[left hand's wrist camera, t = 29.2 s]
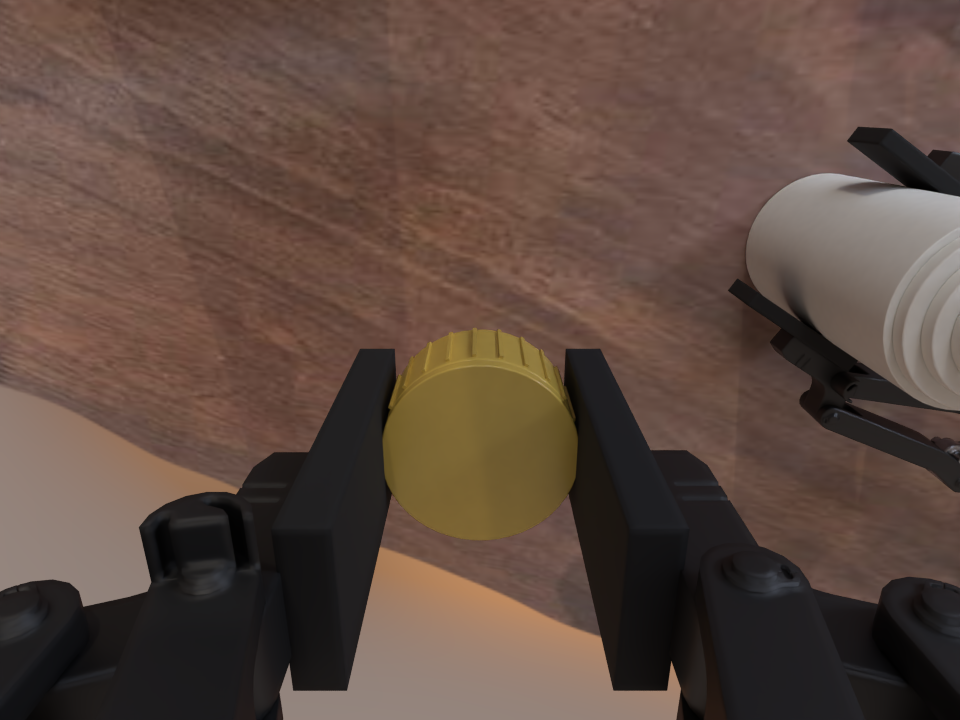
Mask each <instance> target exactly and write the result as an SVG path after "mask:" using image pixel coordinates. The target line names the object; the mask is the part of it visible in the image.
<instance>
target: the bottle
mask: <svg viewBox="0 0 960 720" xmlns="http://www.w3.org/2000/svg"><path fill="white" fill-rule="evenodd" d="M746 264H747V269H748V272H749V276H750V278H751V280H752V282H753V284H754V286H755V287H756V288H757V290H758V291H759V292H760V293H761V294H762V295H763V296H764V297H765V298H767V299H768V300H770V301H771V302H773V303H774V304H776V305H777V306H779V307H780V308H782V309H783V310H785V311H786V312H788V313H789V314H791V315H792V316H793V317H795V318H796V319H798V320H799V321H801V322H802V323H804V324H805V325H807V326H808V327H810V328H811V329H813V330H814V331H816V332H817V333H818V334H820V335H821V336H823V337H824V338H826V339H827V340H829V341H830V342H832V343H833V344H834V345H836V346H837V347H839V348H840V349H842V350H843V351H845V352H846V353H848V354H849V355H851V356H852V357H854V358H855V359H857V360H858V361H860V362H861V363H863V364H864V365H866V366H867V367H869V368H870V369H872V370H873V371H875V372H876V373H878V374H879V375H881V376H882V377H883V378H885V379H886V380H888V381H889V382H891V383H892V384H894V385H895V386H897V387H898V388H900V389H901V390H903V391H904V392H906V393H907V394H909V395H910V396H912V397H913V398H915V399H917V400H919V401H921V402H922V403H925V404H927V405H930V406H933V407H936V408H941V409H946V410H957V411H960V197H958V196H953V195H947V194H942V193H937V192H931V191H926V190H921V189H915V188H910V187H905V186H900V185H894V184H889V183H884V182H878V181H873V180H868V179H862V178H857V177H852V176H846V175H841V174H832V173H827V174H817V175H811V176H808V177H805V178H802V179H799V180H797V181H795V182H793V183H791V184H789V185H788V186H786V187H784V188H783V189H782V190H780V191H779V192H778V193H776V194H775V195H774V196H773V197H772V198H771V199H770V200H769V201H768V202H767V203H766V204H765V205H764V207H763V208H762V209H761V211H760V212H759V214H758V215H757V217H756V219H755V221H754V223H753V225H752V227H751V230H750V232H749V236H748V240H747V245H746Z"/></svg>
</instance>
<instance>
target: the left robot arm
mask: <svg viewBox="0 0 960 720" xmlns="http://www.w3.org/2000/svg"><path fill="white" fill-rule="evenodd" d="M395 384H396V367H395V349H360V350H359V353H358V355H357V357H356V359H355V361H354V363H353V365H352V367H351V369H350V371H349V373H348V375H347V377H346V379H345V381H344V383H343V385H342V387H341V389H340V391H339V393H338V395H337V397H336V399H335V401H334V403H333V405H332V407H331V409H330V411H329V413H328V415H327V417H326V419H325V421H324V423H323V425H322V427H321V429H320V431H319V433H318V435H317V437H316V439H315V441H314V443H313V445H312V447H311V449H310V451H309V452H274V453H273V454H271V455H270V456H269V457H267V458H266V459H264V460H263V461H262V462H260V463H259V464H257V465H256V466H255V467H253V469H252V470H251V472H250V474H249V475H248V477H247V478H246V480H245V481H244V483H243V487H242V488H240V489H239V491H238V493H237V494H236V495H235V494H232V493H228V492H205V493H200V494H194V495H189V496H185V497H183V498H180V499H177V500H175V501H172V502H170V503H167V504H165V505H163V506H162V507H160V508H159V509H157V510H156V511H154V512H153V513H151V514H150V515H149V516H148V517H147V518H146V519H145V521H144V522H143V523H142V524H141V525H140V527H139V530H140V534H141V538H142V543H143V547H144V551H145V556H146V560H147V565H148V569H149V574H150V578H151V585H150V587H149V589H148V592H145V593H141V594H138V595H134V596H131V597H127V598H122V599H118V600H113V601H108V602H104V603H99V604H94V605H90V606H85V607H83V605H82V601H81V597H80V594H79V591H78V590H77V589H76V588H75V587H73V586H72V585H71V584H70V583H67V582H62V581H57V580H43V581H32V582H28V583H24V584H20V585H18V586H13V587H11V588H7V589H5V590H3V591H1V592H0V720H283V714H282V707H281V700H280V693H279V691H280V689H281V686H282V683H283V680H284V677H285V674H286V671H287V668H288V665H289V663H290V670H291V677H292V685H293V690H294V691H347V688H348V683H349V679H350V675H351V670H352V666H353V661H354V657H355V653H356V648H357V644H358V640H359V635H360V631H361V627H362V622H363V618H364V613H365V609H366V605H367V600H368V596H369V591H370V587H371V583H372V578H373V574H374V570H375V565H376V561H377V556H378V552H379V548H380V543H381V539H382V535H383V530H384V526H385V521H386V517H387V513H388V508H389V504H390V500H391V495H392V492H391V491H390V489H389V487H388V485H387V482H386V480H385V472H384V456H383V439H382V435H383V431H384V427H385V424H386V420H387V417H388V414H389V410H390V409H389V408H388V406H389V403H390V400H391V397H392V393H393V390H394V387H395ZM564 386H566V388H567V391H568V394H569V398H570V401H571V404H572V407H573V411H574V414H575V417H576V418H575V421H574V422H575V425H576V429H577V433H578V447H577V463H576V478H575V481H574V483H573V486H572V488H571V489H570V491H569V498H570V502H571V507H572V511H573V515H574V520H575V524H576V528H577V533H578V537H579V542H580V546H581V550H582V555H583V559H584V563H585V568H586V572H587V577H588V581H589V585H590V590H591V594H592V599H593V603H594V607H595V612H596V616H597V620H598V625H599V629H600V634H601V638H602V642H603V647H604V651H605V655H606V660H607V664H608V669H609V673H610V677H611V681H612V686H613V690H614V691H667V688H668V680H669V673H670V666H671V661H672V664H673V666H674V669H675V672H676V675H677V678H678V681H679V684H680V687H681V693H680V700H679V706H678V713H677V720H960V588H958V587H956V586H954V585H951V584H948V583H943V582H941V581H936V580H933V579H926V578H916V577H905V578H900V579H895V580H891V581H890V582H889V583H888V584H887V585H886V586H885V587H884V588H883V589H882V592H881V596H880V599H879V603H878V604H874V603H870V602H865V601H860V600H856V599H851V598H846V597H842V596H837V595H833V594H829V593H825V592H822V591H818V590H815V589H813V588H811V586H810V583H809V581H808V580H807V578H806V577H805V576H804V574H803V573H802V571H801V570H800V568H799V567H797V566H796V565H795V564H793V563H792V562H791V561H789V560H788V559H787V558H785V557H784V556H782V555H780V554H778V553H775V552H773V551H771V550H769V549H766V548H764V547H759V546H758V544H757V543H756V541H755V539H754V538H753V536H752V535H751V533H750V532H749V530H748V528H747V527H746V525H745V524H744V522H743V521H742V519H741V517H740V516H739V514H738V513H737V511H736V510H735V508H734V506H733V505H732V503H731V502H730V500H727V495H726V494H725V492H724V491H723V489H722V488H721V486H718V481H717V480H716V478H715V477H714V475H713V473H712V472H711V470H710V469H709V467H708V466H707V465H706V464H705V463H703V462H702V461H701V460H699V459H698V458H696V457H695V456H694V455H692V454H691V453H689V452H688V451H687V450H650V448H649V446H648V444H647V442H646V440H645V438H644V436H643V434H642V432H641V430H640V428H639V426H638V424H637V422H636V420H635V418H634V416H633V414H632V412H631V410H630V408H629V406H628V404H627V402H626V400H625V398H624V396H623V394H622V392H621V390H620V388H619V386H618V384H617V382H616V380H615V378H614V376H613V374H612V372H611V370H610V368H609V366H608V364H607V362H606V360H605V358H604V356H603V354H602V352H601V350H600V349H566V355H565V375H564Z"/></svg>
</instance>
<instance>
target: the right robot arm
mask: <svg viewBox="0 0 960 720" xmlns="http://www.w3.org/2000/svg"><path fill="white" fill-rule="evenodd" d="M847 141H848V142H849V143H850V144H852V145H853V146H854V147H855V148H857V149H858V150H859V151H861V152H862V153H863V154H865V155H866V156H867V157H868V158H870V159H871V160H872V161H874V162H875V163H876V164H878V165H879V166H880V167H881V168H883V169H884V170H885V171H887V172H888V173H889V174H891V175H892V176H893V177H895V178H896V179H897V180H898V181H900V182H901V183H902V184H904V185H905V186H906V187H910V188H915V189H921V190H926V191H931V192H937V193H942V194H947V195H953V196H958V197H960V153H957V152H950V151H940V150H932V152H931V153H930V154H929V155H928V156H926V155H925V154H923V153H922V152H921V151H920V150H918V149H917V148H916V147H914V146H913V145H912V144H911V143H909V142H908V141H907V140H906V139H904V138H903V137H902V136H901V135H899V134H898V133H897V132H895V131H894V130H893V129H888V128H869V127H858V128H857V129H856V130H855V132H854V133H853V134H852V135H851V137H850V138H849V139H848V140H847ZM728 291H729V292H731V293H732V294H733V295H735V296H736V297H737V298H739V299H740V300H741V301H743V302H744V303H745V304H747V305H748V306H750V307H751V308H753V309H754V310H755V311H757V312H758V313H760V314H761V315H763V316H764V317H766V318H767V319H769V320H770V321H772V322H773V323H775V324H776V325H778V326H779V327H781V329H780V331H779V332H778V333H777V334H776V335H775V337H774V338H773V339H772V340H771V341H770V343H771V345H772V346H773V348H774V350H775V351H777V352H778V353H779V354H780V355H781V356H783V357H784V358H785V359H786V360H788V361H789V362H791V363H792V364H794V365H795V366H797V367H798V368H800V369H801V370H803V371H804V372H806V373H807V374H809V375H811V377H812V385H811V387H810V390H808V391H806V392H804V393H803V394H802V395H801V397H800V399H799V401H800V405H801V407H802V408H803V409H805V410H806V411H807V412H808V413H809V414H810V415H811V416H812V417H813V418H814V419H815V420H816V421H817V422H818V423H820V424H821V425H822V426H823V427H824V428H826V429H828V430H831V431H833V432H836V433H838V434H841V435H843V436H846V437H848V438H851V439H853V440H856V441H858V442H861V443H863V444H866V445H868V446H871V447H873V448H876V449H878V450H881V451H883V452H886V453H888V454H891V455H893V456H896V457H898V458H901V459H903V460H906V461H908V462H911V463H913V464H916V465H918V466H921V467H923V468H926V469H927V470H928V471H929V472H931V473H932V474H933V475H934V476H935V477H937V478H938V479H939V480H940V481H942V482H943V483H944V484H945V485H947V486H948V487H949V488H950V489H951V490H953V491H954V492H959V493H960V441H954V440H952V439H950V438H943V439H941V438H940V437H934V438H932V439H931V441H930V440H929V439H928V438H926V437H925V436H923V435H922V434H920V433H919V432H917V431H915V430H912V429H910V428H907V427H905V426H903V425H900V424H898V423H895V422H893V421H890V420H888V419H885V418H883V417H881V416H878V415H876V414H873V413H871V412H868V411H866V410H863V409H861V408H858V407H856V406H854V405H851V404H849V403H846V402H845V401H847V402H850V403H852V401H851V400H850V399H849V398H855V399H862V400H869V401H876V402H883V403H890V404H897V405H904V406H911V407H918V408H925V409H932V410H939V411H946V412H953V413H958V414H960V411H957V410H946V409H941V408H936V407H933V406H930V405H927V404H925V403H922V402H921V401H919V400H917V399H915V398H913V397H912V396H910V395H909V394H907V393H906V392H904V391H903V390H901V389H900V388H898V387H897V386H895V385H894V384H892V383H891V382H889V381H888V380H886V379H885V378H883V377H882V376H881V375H879V374H878V373H876V372H875V371H873V370H872V369H870V368H869V367H867V366H866V365H864V364H863V363H858V362H857V361H858V360H857V359H855V358H854V357H852V356H851V355H849V354H848V353H846V352H845V351H843V350H842V349H840V348H839V347H837V346H836V345H834V344H833V343H832V342H830V341H829V340H827V339H826V338H824V337H823V336H821V335H820V334H818V333H817V332H816V331H814V330H813V329H811V328H810V327H808V326H807V325H805V324H804V323H802V322H801V321H799V320H798V319H796V318H795V317H793V316H792V315H791V314H789V313H788V312H786V311H785V310H783V309H782V308H780V307H779V306H777V305H776V304H774V303H773V302H771V301H770V300H768V299H767V298H765V297H764V296H763V295H761V294H760V293H758V292H757V291H755V290H754V289H752V288H751V287H749V286H748V285H746V284H745V283H743V282H742V281H740V280H739V279H737V280H736V281H735V282H734V284H733V285H732V286H731V287H730V289H729V290H728Z"/></svg>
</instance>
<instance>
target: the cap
mask: <svg viewBox="0 0 960 720" xmlns="http://www.w3.org/2000/svg"><path fill="white" fill-rule="evenodd" d="M388 408H389V409H390V410H389V414H388V417H387V420H386V424H385V427H384V431H383V435H382V439H383V456H384V472H385V480H386V482H387V485H388V487H389V489H390V491H391V492H392V494H393V496H394V497H395V499H396V500H397V501H398V503H399V504H400V505H401V506H402V507H403V508H404V510H405V511H406V512H407V513H408V514H410V515H411V516H412V517H413V518H414V519H416V520H417V521H419V522H420V523H422V524H423V525H425V526H426V527H428V528H430V529H432V530H434V531H436V532H439V533H442V534H445V535H447V536H451V537H455V538H460V539H467V540H494V539H501V538H505V537H510V536H513V535H516V534H519V533H522V532H524V531H526V530H528V529H530V528H532V527H534V526H536V525H537V524H539V523H540V522H542V521H543V520H545V519H546V518H547V517H548V516H550V515H551V514H552V513H553V512H554V511H555V510H556V509H557V508H558V507H559V506H560V505H561V503H562V502H563V501H564V499H565V498H566V497H567V495H568V493H569V491H570V489H571V488H572V486H573V483H574V481H575V478H576V463H577V447H578V433H577V429H576V425H575V422H574V421H575V418H576V417H575V414H574V411H573V407H572V404H571V401H570V398H569V394H568V391H567V388H566V386H563V383H562V379H561V376H560V373H559V369H558V367H557V366H555V367H554V366H553V365H552V363H551V362H550V361H549V360H548V358H547V357H546V356H545V355H544V351H543V350H541V349H540V350H538V349H537V348H535V347H534V346H533V345H531V344H529V343H528V342H526V341H524V338H523V337H520V338H518V337H515V336H513V335H511V334H507V333H503V332H501V330H499V329H498V330H497V331H492V330H477V328H473V330H468V331H461V332H457V333H453V332H450V333H449V335H448V336H445V337H442V338H440V339H438V340H436V341H434V342H433V343H431V342H429V343H427V347H425V348H424V349H422V350H421V351H420V352H419V353H418V354H417V355H416V356H415V357H413V356H412V357H411V358H410V360H409V363H408V365H407V366H406V368H405V370H404V372H403V373H402V375H398V377H397V380H396V384H395V387H394V390H393V393H392V397H391V400H390V403H389V406H388Z"/></svg>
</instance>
